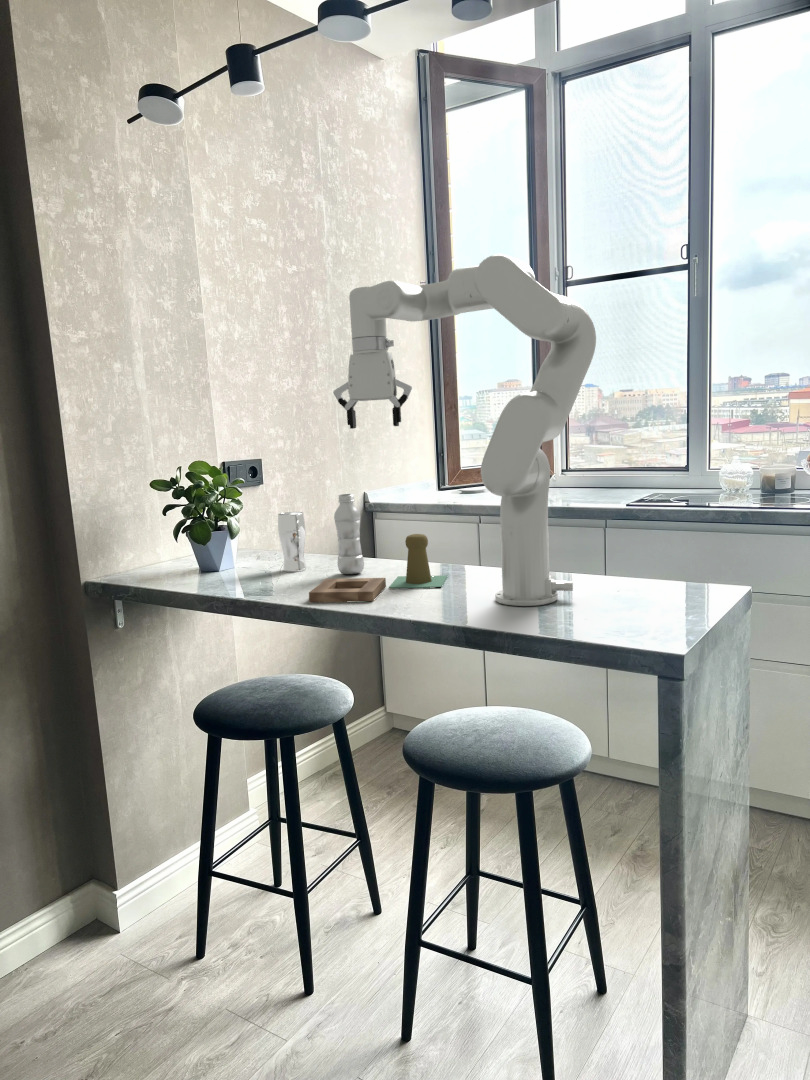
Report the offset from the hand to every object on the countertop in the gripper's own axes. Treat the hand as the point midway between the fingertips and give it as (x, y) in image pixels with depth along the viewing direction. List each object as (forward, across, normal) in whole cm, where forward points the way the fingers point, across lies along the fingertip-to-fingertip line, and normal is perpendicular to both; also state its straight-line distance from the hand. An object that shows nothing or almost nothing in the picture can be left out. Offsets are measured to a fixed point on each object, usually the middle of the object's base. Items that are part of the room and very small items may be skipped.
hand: (374, 427), depth 172 cm
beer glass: (+36, +29, -25) cm, 53 cm away
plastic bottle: (+36, +12, -18) cm, 42 cm away
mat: (+36, -7, -6) cm, 37 cm away
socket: (+36, +7, +5) cm, 37 cm away
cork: (+36, -7, -6) cm, 37 cm away
